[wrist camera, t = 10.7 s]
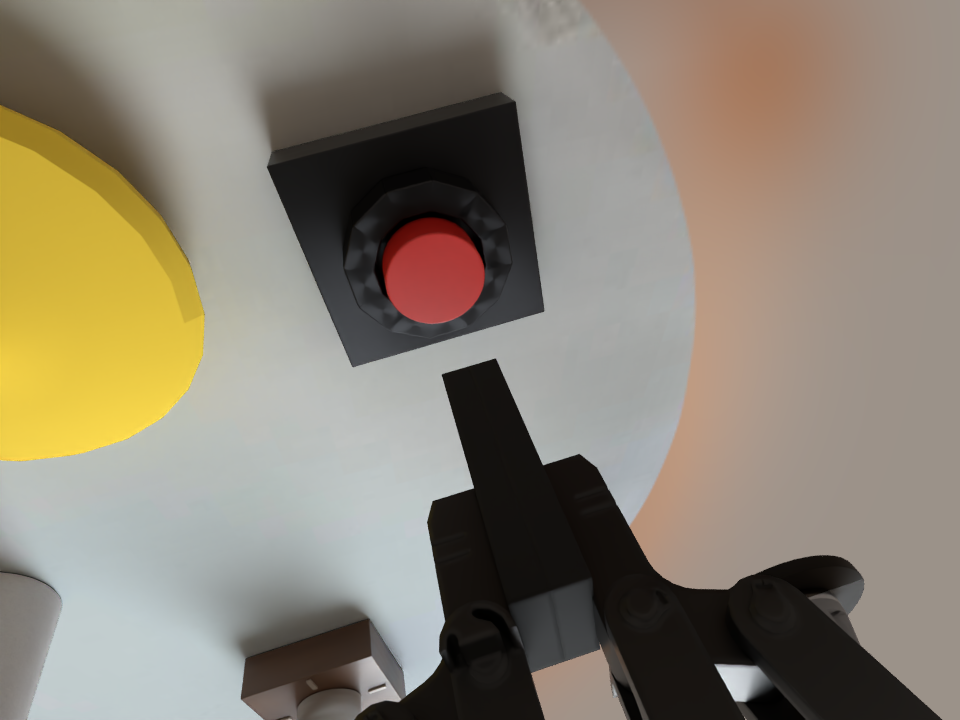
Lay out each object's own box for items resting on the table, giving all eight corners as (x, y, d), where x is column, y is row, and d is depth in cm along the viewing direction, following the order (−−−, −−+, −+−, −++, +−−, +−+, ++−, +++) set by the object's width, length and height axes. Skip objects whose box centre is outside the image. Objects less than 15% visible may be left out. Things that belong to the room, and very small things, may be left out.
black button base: (532, 291, 29) (556, 330, 26) (351, 343, 28) (353, 389, 25) (501, 91, 23) (529, 109, 20) (271, 151, 22) (261, 180, 19)
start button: (483, 290, 24) (493, 309, 23) (397, 314, 24) (401, 335, 22) (465, 205, 22) (474, 220, 20) (369, 231, 21) (372, 249, 20)
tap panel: (403, 672, 49) (407, 709, 46) (295, 708, 48) (293, 748, 46) (369, 618, 43) (371, 657, 40) (245, 658, 42) (239, 701, 40)
